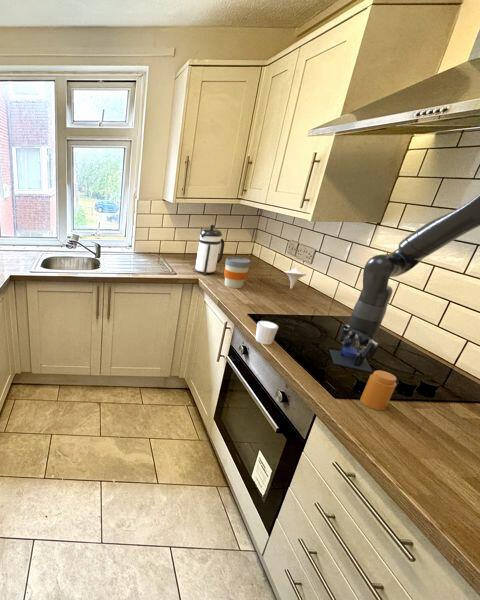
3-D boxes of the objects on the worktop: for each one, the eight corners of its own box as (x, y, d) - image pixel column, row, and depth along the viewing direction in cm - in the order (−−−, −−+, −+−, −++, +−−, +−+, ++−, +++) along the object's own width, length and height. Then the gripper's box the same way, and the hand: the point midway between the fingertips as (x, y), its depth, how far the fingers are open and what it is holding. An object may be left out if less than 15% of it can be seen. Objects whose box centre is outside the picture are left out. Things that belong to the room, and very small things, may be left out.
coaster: (329, 350, 114) (329, 349, 114) (364, 358, 109) (365, 356, 109) (333, 364, 106) (334, 363, 105) (372, 373, 101) (372, 371, 101)
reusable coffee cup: (234, 281, 185) (239, 256, 180) (250, 288, 174) (256, 261, 169) (216, 282, 182) (221, 257, 177) (231, 290, 171) (236, 263, 165)
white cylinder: (273, 347, 116) (278, 330, 113) (252, 342, 119) (256, 325, 116) (274, 339, 121) (279, 323, 118) (254, 334, 124) (258, 318, 122)
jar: (375, 397, 90) (387, 369, 86) (390, 410, 85) (404, 381, 82) (355, 396, 91) (366, 368, 87) (369, 409, 86) (382, 380, 82)
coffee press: (218, 277, 191) (227, 227, 180) (190, 273, 198) (198, 225, 186) (219, 270, 206) (228, 223, 195) (194, 266, 212) (201, 221, 201)
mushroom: (278, 284, 180) (283, 264, 175) (300, 287, 176) (306, 266, 171) (281, 290, 171) (286, 269, 167) (304, 293, 167) (310, 271, 163)
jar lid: (350, 349, 110) (351, 345, 109) (367, 358, 105) (369, 353, 104) (337, 351, 108) (338, 347, 108) (354, 360, 103) (356, 355, 103)
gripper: (339, 305, 108) (324, 348, 114) (372, 324, 94) (353, 371, 101) (362, 306, 107) (346, 349, 114) (399, 325, 94) (378, 373, 100)
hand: (349, 359), depth 107 cm, fingers closed on jar lid, 5 cm apart
